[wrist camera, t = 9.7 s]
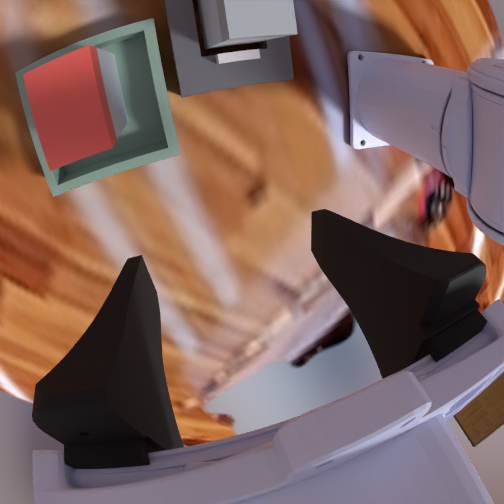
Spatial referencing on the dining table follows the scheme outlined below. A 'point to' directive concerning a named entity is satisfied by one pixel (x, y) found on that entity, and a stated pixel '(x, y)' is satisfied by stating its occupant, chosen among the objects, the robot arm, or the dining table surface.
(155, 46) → the tray
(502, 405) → the food packaging
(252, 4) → the block
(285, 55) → the fuse holder
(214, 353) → the dining table surface
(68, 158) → the block
